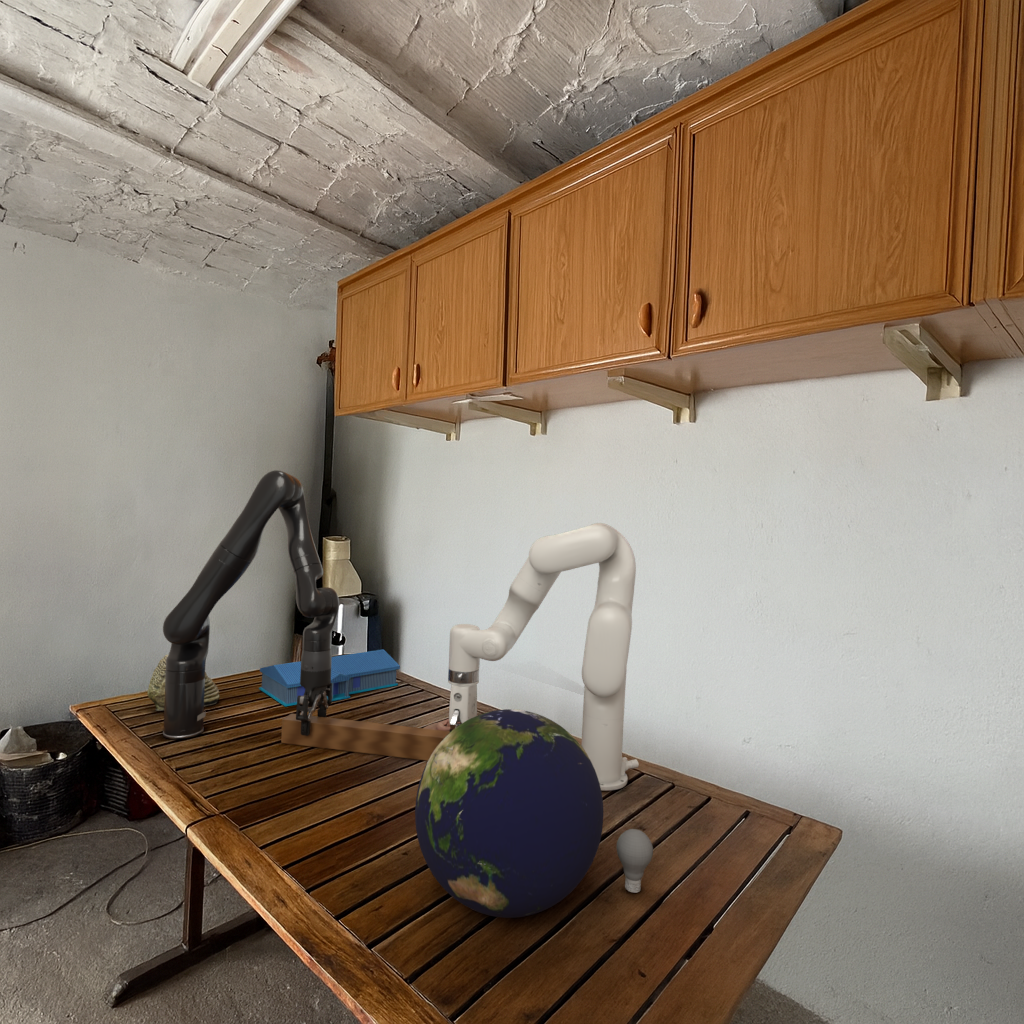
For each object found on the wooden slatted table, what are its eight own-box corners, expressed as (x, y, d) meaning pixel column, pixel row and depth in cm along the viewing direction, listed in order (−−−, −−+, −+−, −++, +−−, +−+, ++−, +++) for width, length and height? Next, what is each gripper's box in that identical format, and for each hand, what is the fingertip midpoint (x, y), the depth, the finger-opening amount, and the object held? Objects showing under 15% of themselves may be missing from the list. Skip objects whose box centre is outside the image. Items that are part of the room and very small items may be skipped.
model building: (289, 709, 186) (291, 675, 185) (258, 688, 204) (259, 657, 204) (403, 687, 212) (405, 657, 212) (366, 670, 230) (368, 643, 230)
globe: (373, 928, 94) (381, 727, 93) (463, 833, 121) (470, 677, 121) (566, 996, 82) (577, 768, 82) (617, 874, 110) (625, 703, 109)
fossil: (144, 707, 182) (145, 655, 182) (212, 696, 194) (213, 647, 194) (151, 716, 175) (153, 662, 175) (221, 703, 188) (223, 653, 188)
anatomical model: (416, 721, 169) (430, 707, 181) (415, 736, 169) (429, 721, 181) (463, 727, 167) (475, 713, 178) (463, 742, 167) (474, 727, 178)
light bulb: (610, 879, 108) (613, 822, 108) (644, 879, 109) (647, 822, 109) (619, 902, 102) (622, 840, 102) (655, 901, 103) (658, 840, 103)
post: (281, 742, 161) (281, 719, 161) (290, 736, 166) (291, 713, 166) (488, 768, 152) (489, 743, 151) (492, 760, 156) (493, 736, 156)
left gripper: (316, 674, 154) (313, 741, 155) (342, 660, 168) (339, 721, 169) (287, 672, 156) (285, 737, 156) (316, 658, 170) (313, 718, 170)
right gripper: (469, 687, 146) (466, 761, 146) (486, 668, 163) (483, 734, 163) (438, 684, 147) (435, 757, 147) (458, 665, 164) (455, 731, 164)
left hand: (313, 729), depth 162 cm, fingers open, 8 cm apart
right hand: (460, 745), depth 155 cm, fingers open, 9 cm apart
